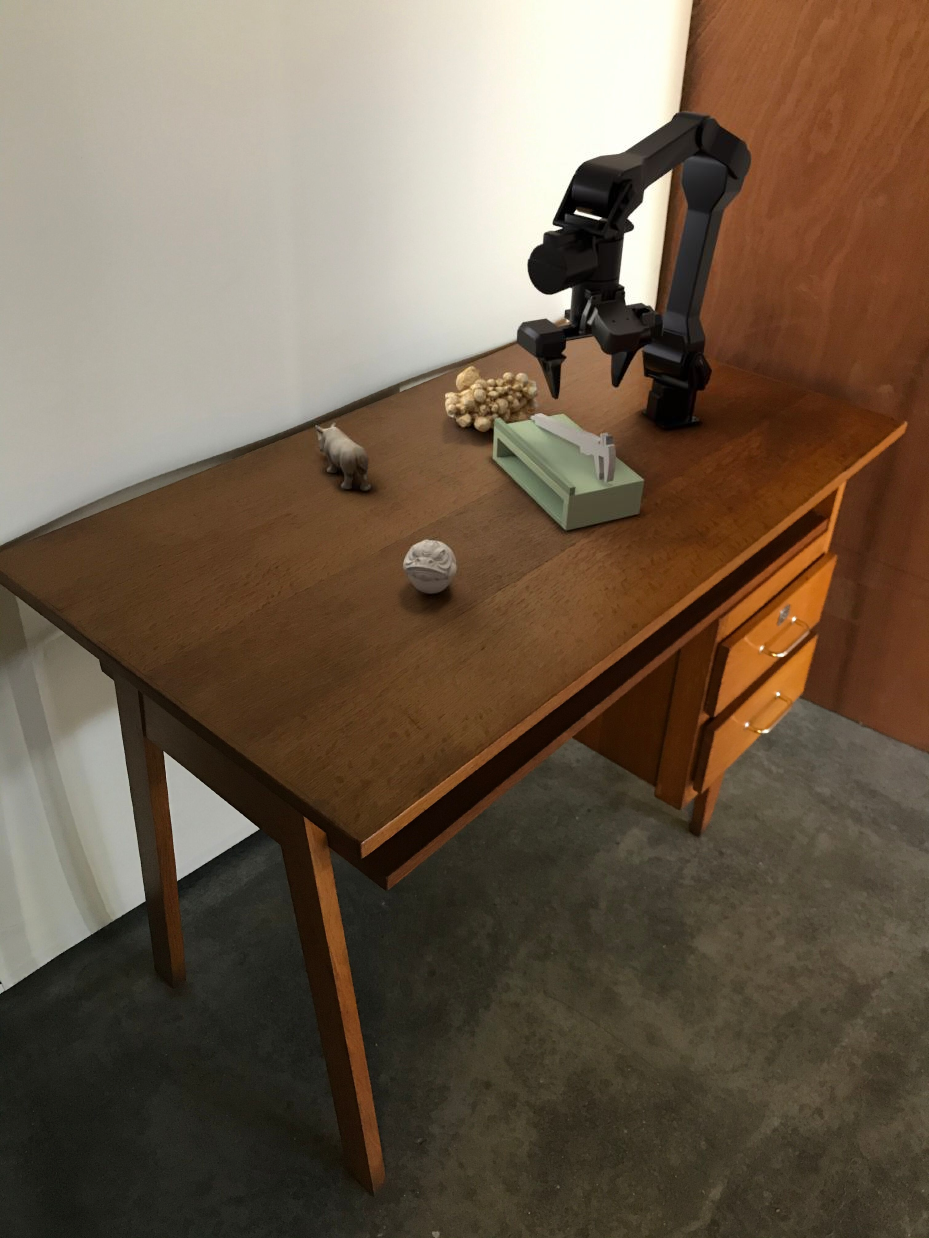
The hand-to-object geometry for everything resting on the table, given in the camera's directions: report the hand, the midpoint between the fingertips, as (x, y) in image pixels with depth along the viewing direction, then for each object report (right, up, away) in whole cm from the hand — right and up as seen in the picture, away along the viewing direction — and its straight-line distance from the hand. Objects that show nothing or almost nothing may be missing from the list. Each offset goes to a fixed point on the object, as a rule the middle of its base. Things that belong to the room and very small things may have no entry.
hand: (585, 392), depth 133 cm
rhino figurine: (-33, -10, +5) cm, 35 cm away
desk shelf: (-3, -12, +3) cm, 13 cm away
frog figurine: (-20, -27, -17) cm, 38 cm away
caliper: (-2, -8, +1) cm, 8 cm away
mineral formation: (-14, -1, +18) cm, 22 cm away
